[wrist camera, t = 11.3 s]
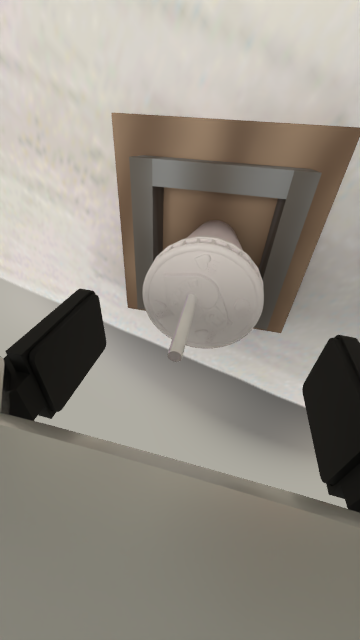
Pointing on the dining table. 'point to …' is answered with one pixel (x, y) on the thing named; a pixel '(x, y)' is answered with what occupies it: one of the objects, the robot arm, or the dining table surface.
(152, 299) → the smoothie
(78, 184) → the dining table surface
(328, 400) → the robot arm
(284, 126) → the socket block
